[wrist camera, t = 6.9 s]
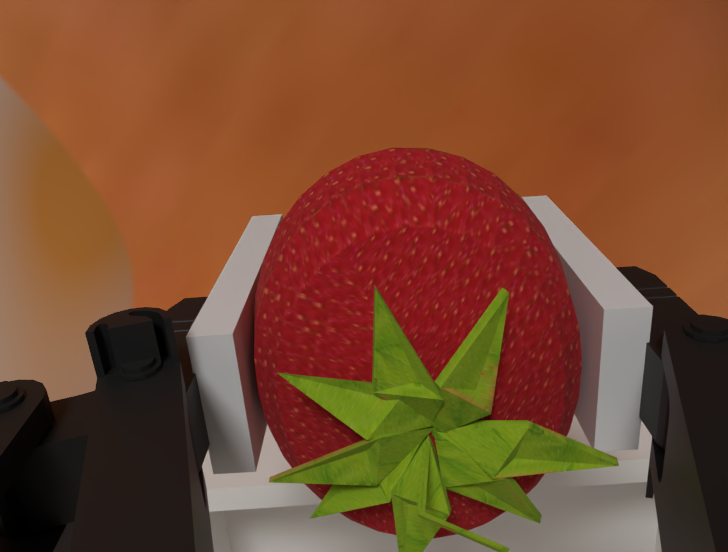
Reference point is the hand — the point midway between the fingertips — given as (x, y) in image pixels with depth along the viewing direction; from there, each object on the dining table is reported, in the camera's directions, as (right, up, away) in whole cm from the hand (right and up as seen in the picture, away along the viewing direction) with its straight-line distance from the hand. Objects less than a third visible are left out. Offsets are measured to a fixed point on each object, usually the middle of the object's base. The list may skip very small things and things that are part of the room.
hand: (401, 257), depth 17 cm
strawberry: (0, 0, 0) cm, 1 cm away
